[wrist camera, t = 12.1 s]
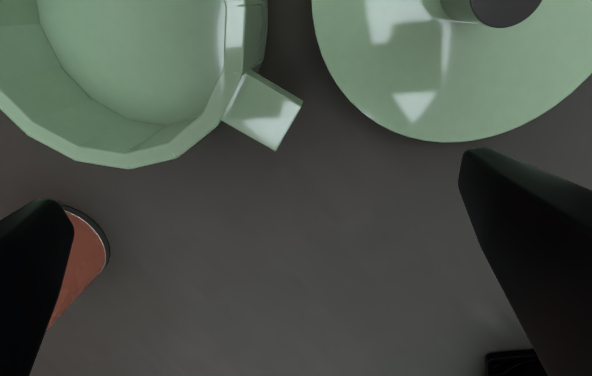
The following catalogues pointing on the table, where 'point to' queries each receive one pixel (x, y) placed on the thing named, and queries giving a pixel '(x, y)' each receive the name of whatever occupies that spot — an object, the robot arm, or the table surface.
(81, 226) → the reddish translucent cylinder
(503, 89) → the pot lid
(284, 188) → the table surface
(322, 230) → the table surface
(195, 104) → the pot
